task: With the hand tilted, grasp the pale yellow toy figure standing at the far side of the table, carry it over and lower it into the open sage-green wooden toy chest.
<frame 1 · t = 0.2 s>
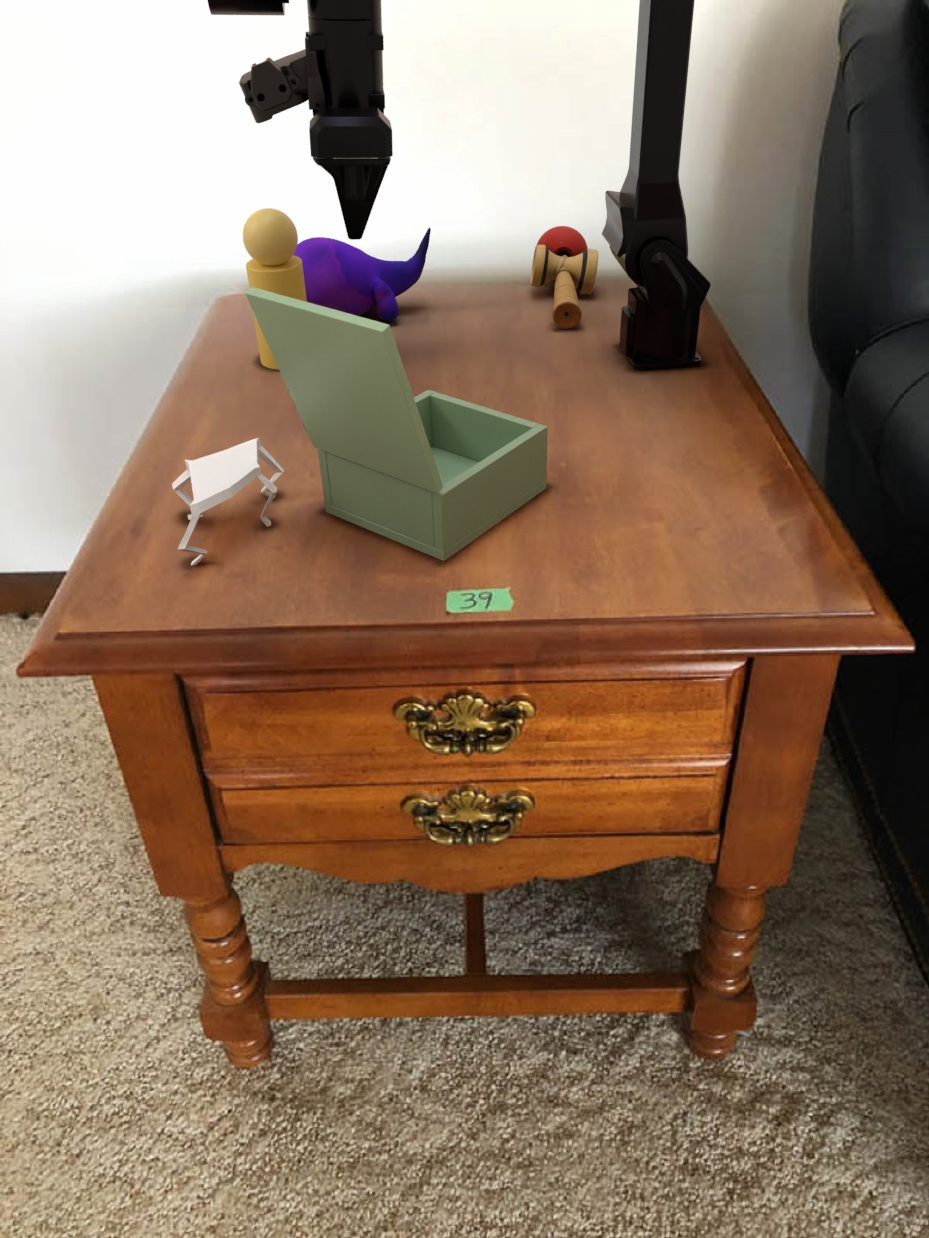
hand: (353, 223, 89), 14 cm above the table, tool pointing down, fingers open, 9 cm apart
toy figure: (287, 359, 102), on the table
kendama: (564, 301, 113), on the table
toy: (363, 316, 111), on the table
chest lid: (347, 393, 67), point 12 cm above the table, hinge at 108.0°
chest: (437, 500, 79), on the table
origami figure: (225, 534, 76), on the table
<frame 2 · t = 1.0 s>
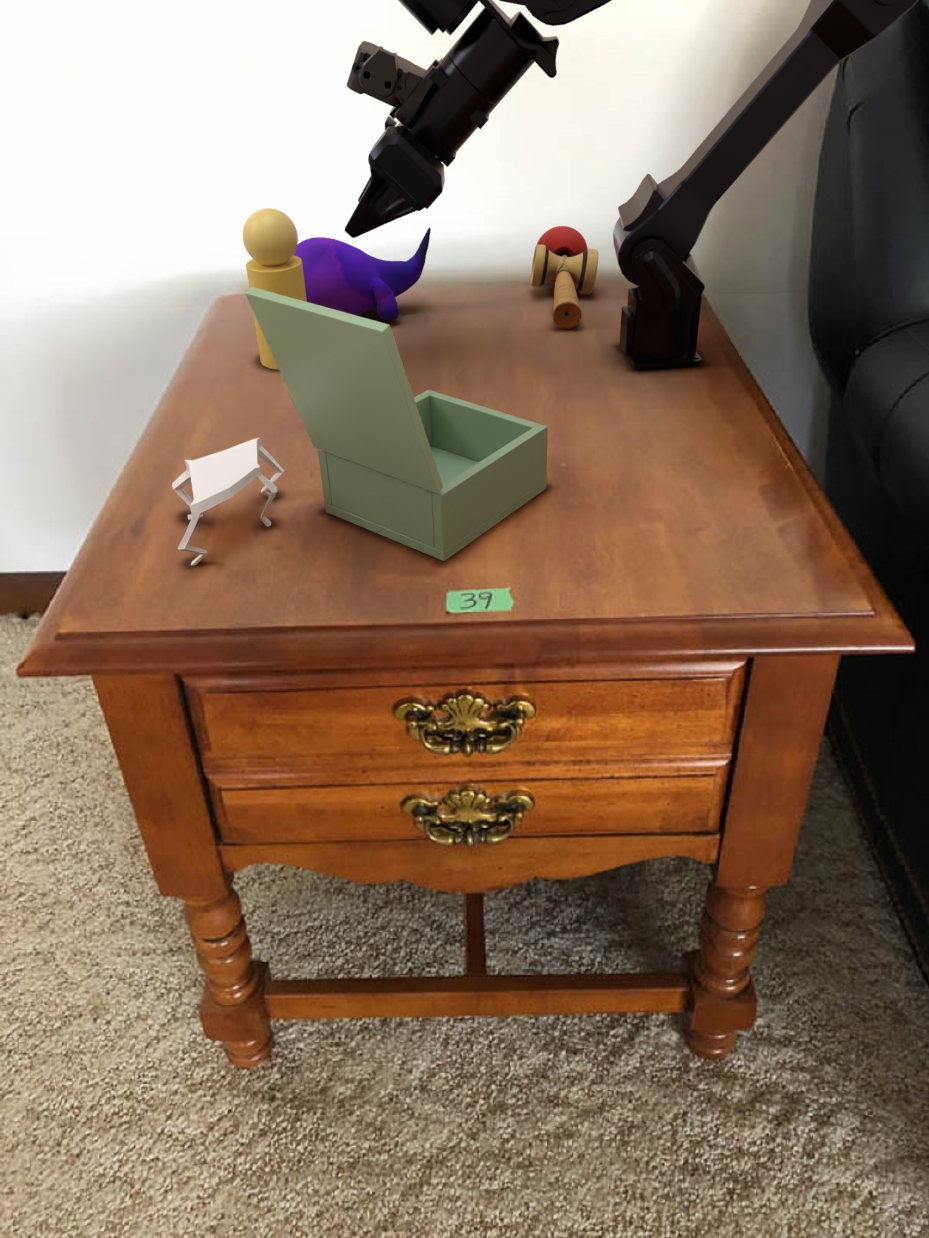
hand: (355, 218, 93), 13 cm above the table, tool tilted 45°, fingers open, 9 cm apart
nothing on the table moved.
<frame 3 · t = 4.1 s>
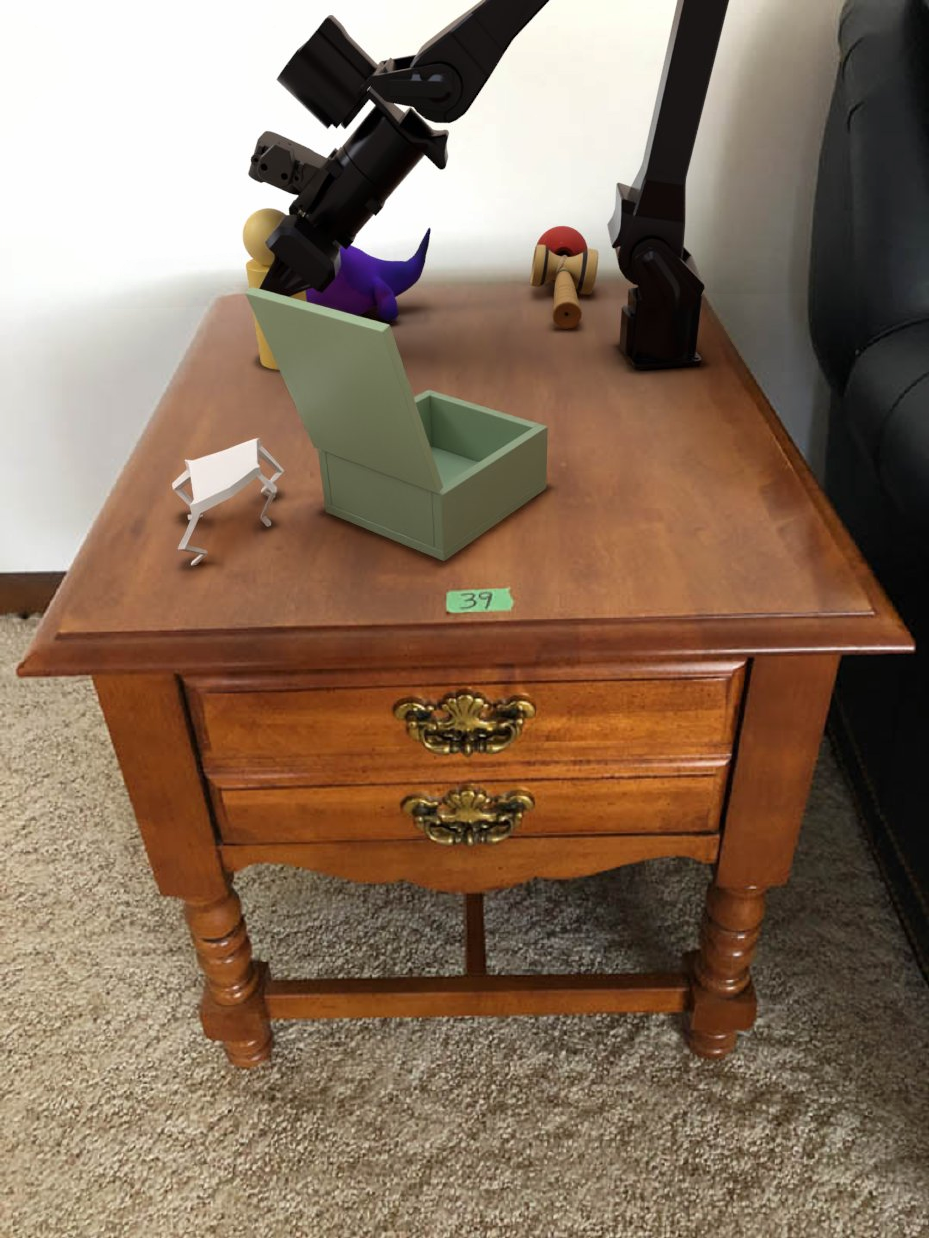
hand: (263, 293, 98), 7 cm above the table, tool tilted 45°, fingers closed on toy figure, 5 cm apart
toy figure: (287, 359, 102), on the table, touching gripper
everything else where it was.
when the fingers open (7 cm above the table, at t = 14.3 s): toy figure stays where it is, resting on chest.
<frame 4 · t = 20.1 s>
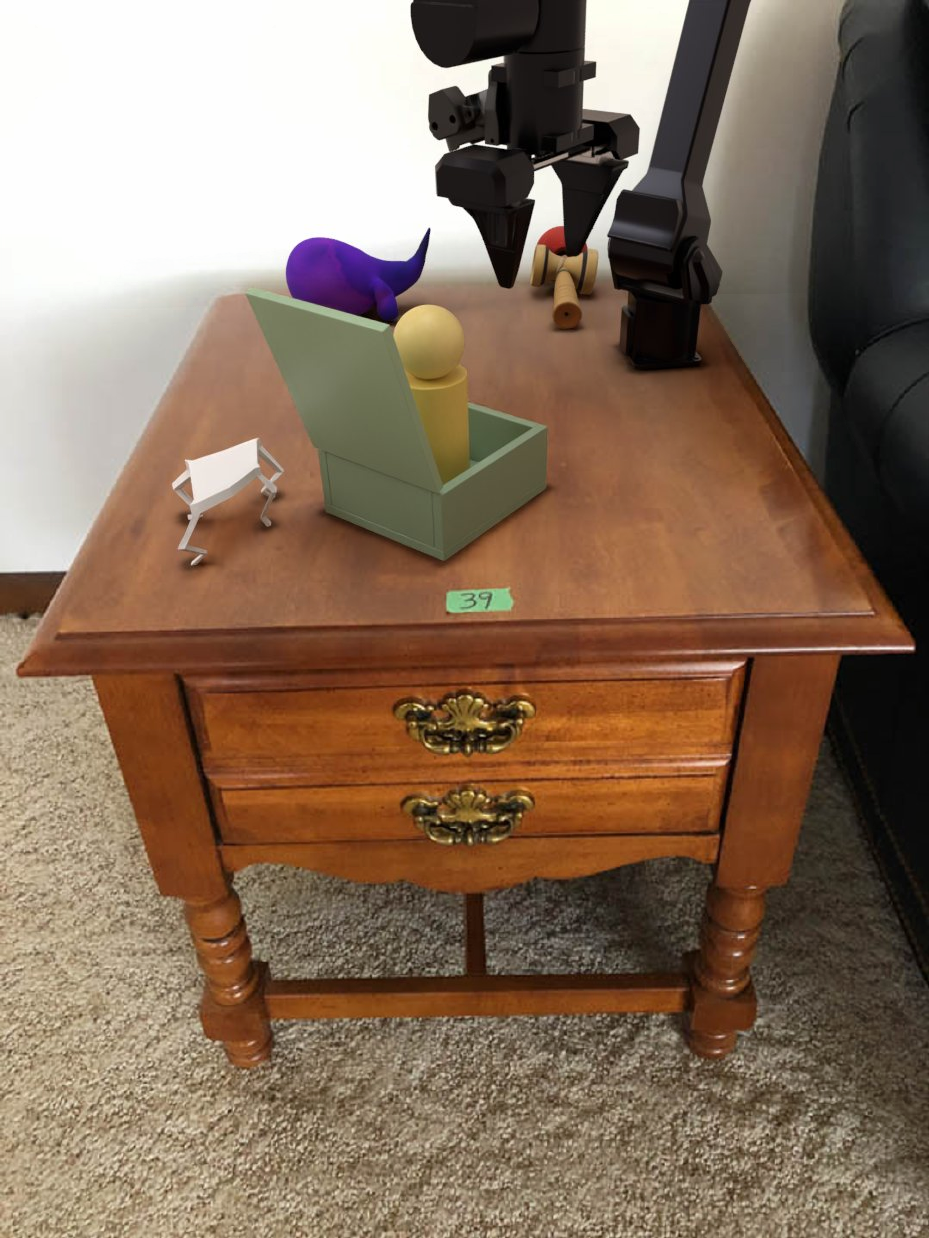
hand: (540, 271, 81), 13 cm above the table, tool pointing down, fingers open, 9 cm apart
toy figure: (436, 491, 78), point 1 cm above the table, touching chest
everything else where it was.
at the end: toy figure inside the target area in the chest (0.0 cm from its centre), point 0.8 cm above the chest's base; the gripper is holding nothing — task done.
